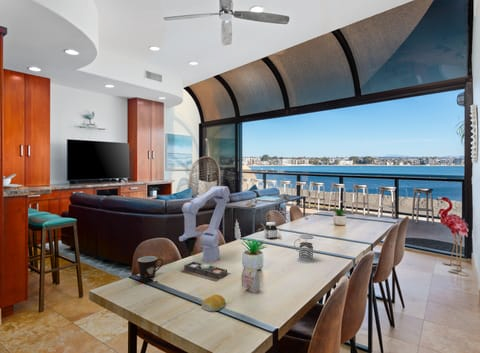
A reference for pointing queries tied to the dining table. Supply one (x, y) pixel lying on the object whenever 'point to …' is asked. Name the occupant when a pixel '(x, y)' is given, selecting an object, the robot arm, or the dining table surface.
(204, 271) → the button panel
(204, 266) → the sage button
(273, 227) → the spread jar
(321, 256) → the dining table surface
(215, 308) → the bread roll
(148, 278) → the coffee mug
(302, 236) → the french press
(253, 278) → the tea bag
